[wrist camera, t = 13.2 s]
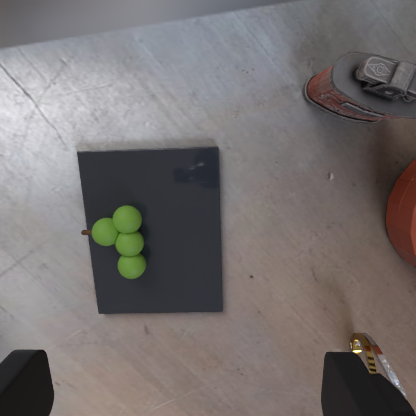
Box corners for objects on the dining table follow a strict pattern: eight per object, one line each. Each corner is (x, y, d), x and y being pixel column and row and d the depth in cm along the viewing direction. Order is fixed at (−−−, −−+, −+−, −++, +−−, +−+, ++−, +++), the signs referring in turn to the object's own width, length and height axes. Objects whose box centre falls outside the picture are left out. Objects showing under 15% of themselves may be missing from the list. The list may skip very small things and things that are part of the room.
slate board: (80, 151, 30) (76, 151, 29) (218, 146, 29) (218, 146, 29) (101, 310, 34) (98, 314, 33) (222, 307, 33) (222, 312, 33)
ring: (366, 369, 35) (409, 435, 27) (338, 370, 35) (373, 437, 27) (367, 316, 33) (414, 371, 25) (339, 318, 33) (376, 373, 26)
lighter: (296, 103, 28) (339, 84, 18) (310, 66, 27) (363, 27, 18) (374, 130, 29) (455, 126, 19) (389, 95, 28) (483, 72, 18)
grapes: (143, 202, 30) (84, 204, 30) (136, 208, 27) (71, 210, 27) (149, 271, 32) (93, 272, 32) (143, 283, 29) (82, 284, 29)
